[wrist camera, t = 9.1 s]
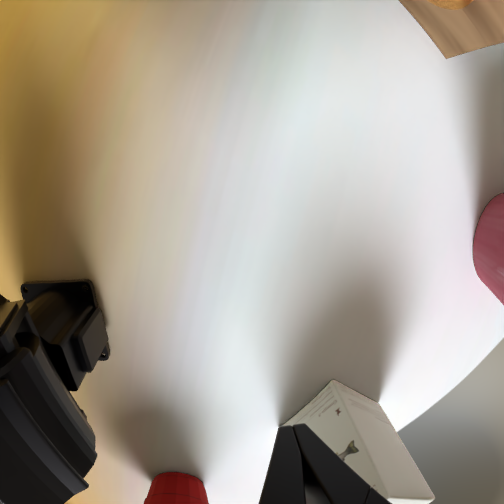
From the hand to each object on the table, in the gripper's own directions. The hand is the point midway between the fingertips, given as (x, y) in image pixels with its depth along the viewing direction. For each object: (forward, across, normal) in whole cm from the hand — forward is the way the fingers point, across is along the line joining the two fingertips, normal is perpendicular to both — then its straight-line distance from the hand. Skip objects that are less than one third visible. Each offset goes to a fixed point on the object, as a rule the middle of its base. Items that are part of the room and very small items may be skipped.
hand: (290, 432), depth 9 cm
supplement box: (+13, -7, +14) cm, 21 cm away
